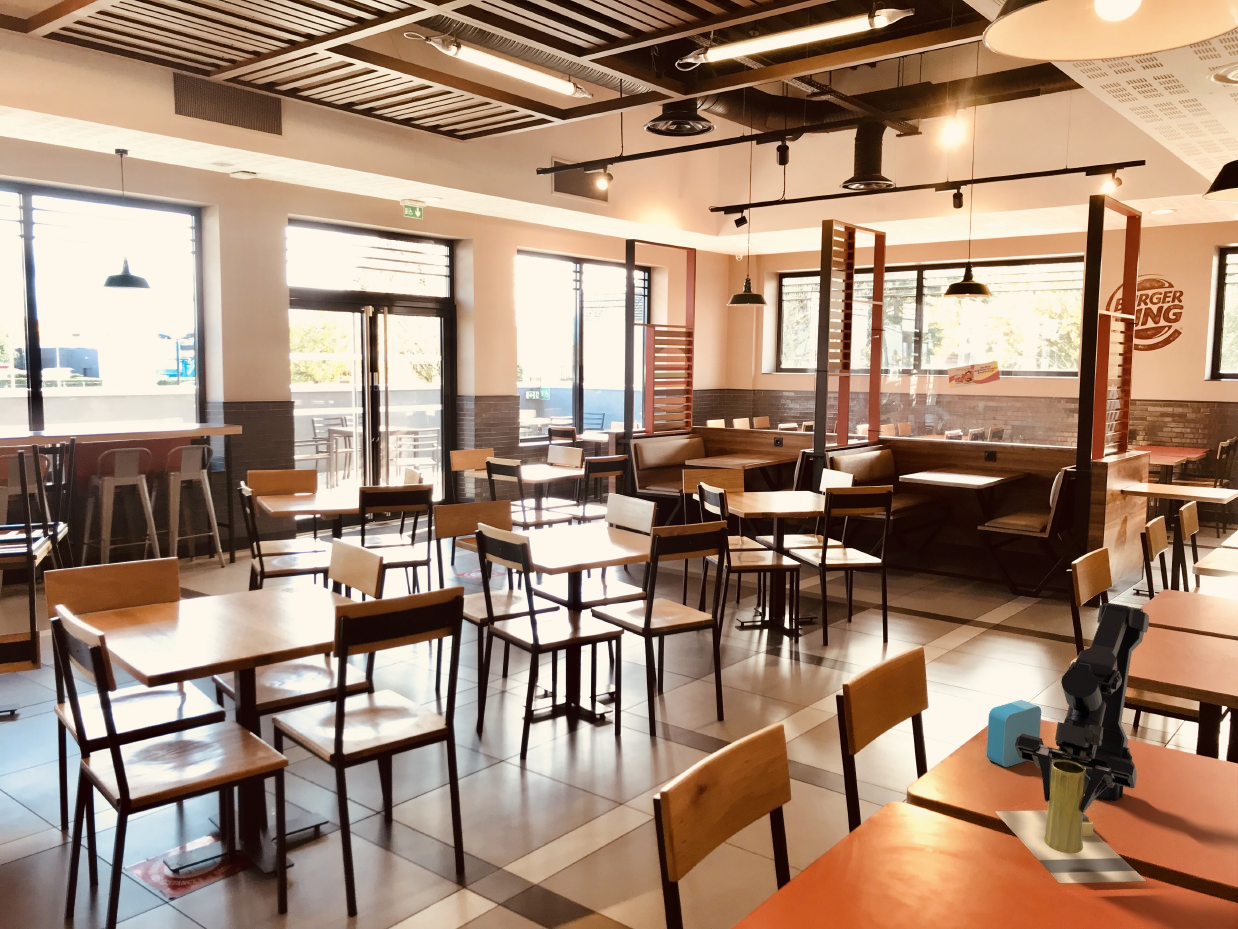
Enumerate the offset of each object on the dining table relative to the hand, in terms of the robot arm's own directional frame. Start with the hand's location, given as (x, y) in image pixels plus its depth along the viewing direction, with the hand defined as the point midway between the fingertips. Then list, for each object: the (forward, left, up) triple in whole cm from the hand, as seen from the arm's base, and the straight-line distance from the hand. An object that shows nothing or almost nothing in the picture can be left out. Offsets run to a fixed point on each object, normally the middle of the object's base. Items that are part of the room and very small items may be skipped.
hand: (1063, 806), depth 158 cm
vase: (-1, -1, -8) cm, 8 cm away
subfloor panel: (-5, -8, -12) cm, 16 cm away
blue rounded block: (-13, -44, -13) cm, 47 cm away
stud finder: (-10, -14, -11) cm, 20 cm away
